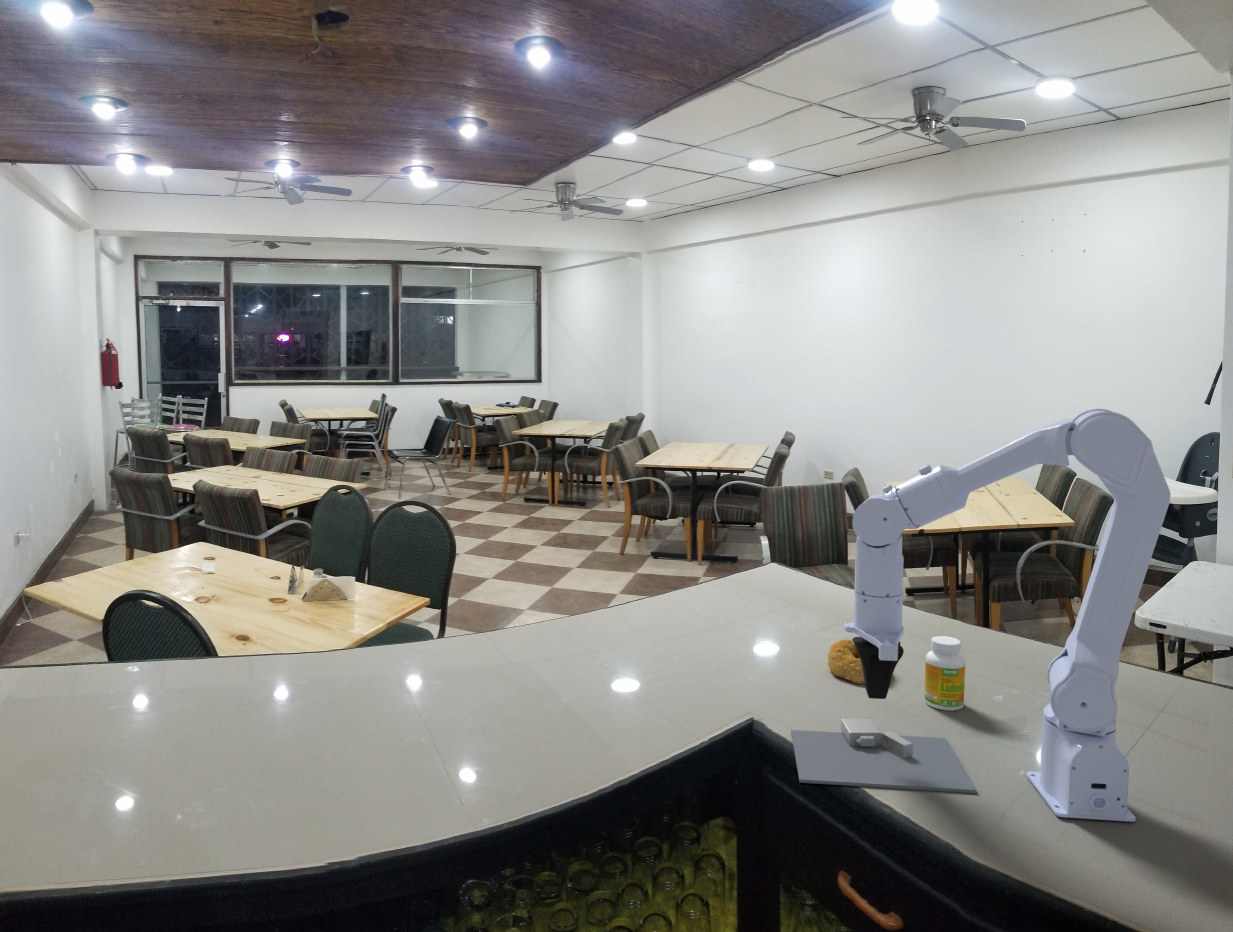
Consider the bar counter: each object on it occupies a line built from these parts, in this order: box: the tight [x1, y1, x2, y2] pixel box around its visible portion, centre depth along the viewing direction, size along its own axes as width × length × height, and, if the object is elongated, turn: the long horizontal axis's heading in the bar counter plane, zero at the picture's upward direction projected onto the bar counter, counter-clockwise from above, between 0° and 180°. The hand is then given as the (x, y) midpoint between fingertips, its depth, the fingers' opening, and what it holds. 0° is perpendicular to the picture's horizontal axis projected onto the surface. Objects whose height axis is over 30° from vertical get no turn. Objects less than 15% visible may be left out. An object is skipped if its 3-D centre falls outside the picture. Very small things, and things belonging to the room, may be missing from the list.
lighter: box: [840, 718, 913, 758], centre depth 102 cm, size 7×2×8 cm
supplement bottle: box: [923, 635, 966, 712], centre depth 115 cm, size 5×5×10 cm
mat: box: [790, 729, 978, 794], centre depth 99 cm, size 14×20×1 cm
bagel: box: [827, 638, 865, 685], centre depth 128 cm, size 10×11×5 cm
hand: (876, 696), depth 99 cm, fingers closed
